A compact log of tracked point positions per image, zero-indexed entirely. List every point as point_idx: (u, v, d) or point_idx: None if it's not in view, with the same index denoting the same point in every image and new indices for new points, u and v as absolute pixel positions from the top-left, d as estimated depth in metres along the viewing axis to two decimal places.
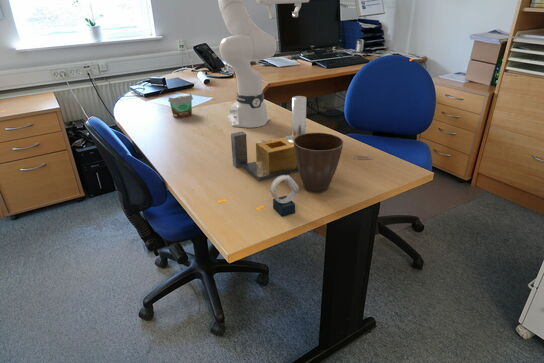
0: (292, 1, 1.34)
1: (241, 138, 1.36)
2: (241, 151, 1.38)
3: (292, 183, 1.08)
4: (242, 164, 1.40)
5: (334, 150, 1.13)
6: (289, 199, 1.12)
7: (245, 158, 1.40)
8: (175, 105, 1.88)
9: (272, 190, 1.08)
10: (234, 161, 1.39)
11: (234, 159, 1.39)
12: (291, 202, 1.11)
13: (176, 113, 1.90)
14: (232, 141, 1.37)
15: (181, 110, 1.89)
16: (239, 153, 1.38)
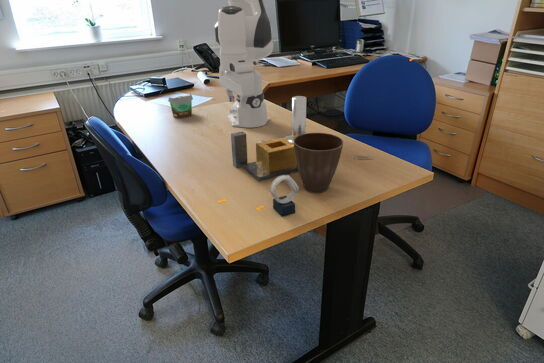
0: None
1: (241, 138, 1.36)
2: (241, 151, 1.38)
3: (292, 183, 1.08)
4: (242, 164, 1.40)
5: (334, 150, 1.13)
6: (289, 199, 1.12)
7: (245, 158, 1.40)
8: (175, 105, 1.88)
9: (272, 190, 1.08)
10: (234, 161, 1.39)
11: (234, 159, 1.39)
12: (291, 202, 1.11)
13: (176, 113, 1.90)
14: (232, 141, 1.37)
15: (181, 110, 1.89)
16: (239, 153, 1.38)
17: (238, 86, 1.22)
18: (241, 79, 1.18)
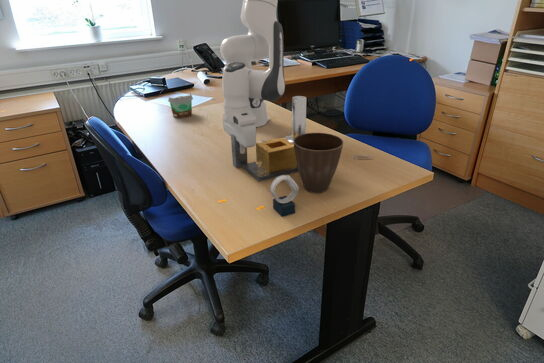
0: None
1: None
2: None
3: (292, 183, 1.08)
4: (242, 164, 1.40)
5: (334, 150, 1.13)
6: (289, 199, 1.12)
7: (245, 158, 1.40)
8: (175, 105, 1.88)
9: (272, 190, 1.08)
10: (234, 161, 1.39)
11: (234, 159, 1.39)
12: (291, 202, 1.11)
13: (176, 113, 1.90)
14: (232, 141, 1.37)
15: (181, 110, 1.89)
16: (239, 153, 1.38)
17: (241, 136, 1.30)
18: (244, 132, 1.26)
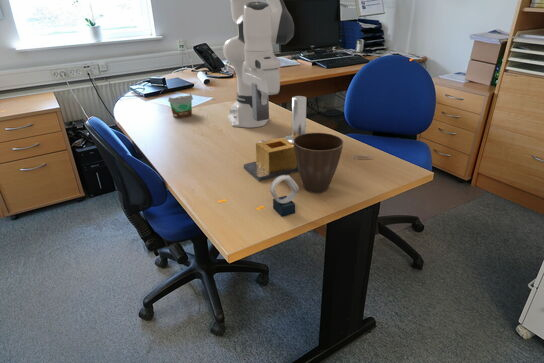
0: None
1: None
2: None
3: (292, 183, 1.08)
4: (263, 117, 1.30)
5: (334, 150, 1.13)
6: (289, 199, 1.12)
7: (266, 111, 1.29)
8: (175, 105, 1.88)
9: (272, 190, 1.08)
10: (255, 114, 1.29)
11: (255, 111, 1.29)
12: (291, 202, 1.11)
13: (176, 113, 1.90)
14: (253, 91, 1.26)
15: (181, 110, 1.89)
16: (261, 104, 1.27)
17: (263, 83, 1.20)
18: (267, 76, 1.16)
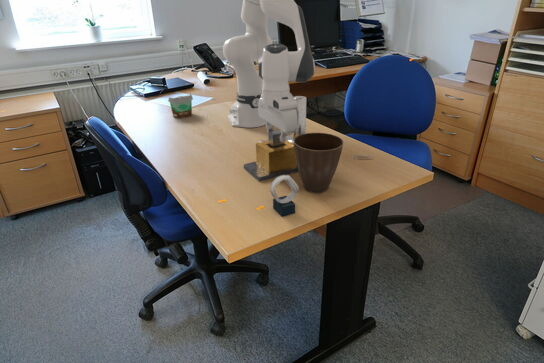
0: None
1: None
2: None
3: (292, 183, 1.08)
4: None
5: (334, 150, 1.13)
6: (289, 199, 1.12)
7: None
8: (175, 105, 1.88)
9: (272, 190, 1.08)
10: None
11: None
12: (291, 202, 1.11)
13: (176, 113, 1.90)
14: (270, 140, 1.33)
15: (181, 110, 1.89)
16: None
17: (280, 121, 1.24)
18: (285, 116, 1.20)
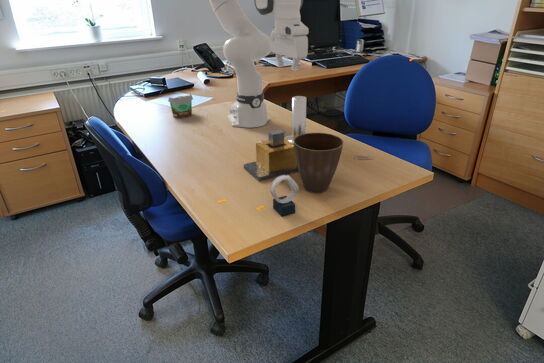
0: None
1: (279, 137, 1.32)
2: None
3: (292, 183, 1.08)
4: None
5: (334, 150, 1.13)
6: (289, 199, 1.12)
7: None
8: (175, 105, 1.88)
9: (272, 190, 1.08)
10: None
11: None
12: (291, 202, 1.11)
13: (176, 113, 1.90)
14: (270, 140, 1.33)
15: (181, 110, 1.89)
16: None
17: (292, 49, 1.30)
18: (297, 41, 1.27)
